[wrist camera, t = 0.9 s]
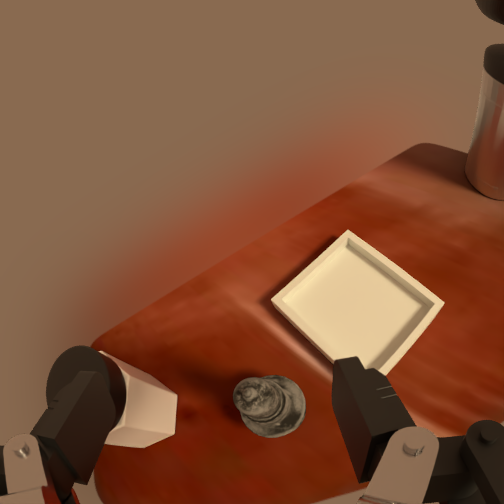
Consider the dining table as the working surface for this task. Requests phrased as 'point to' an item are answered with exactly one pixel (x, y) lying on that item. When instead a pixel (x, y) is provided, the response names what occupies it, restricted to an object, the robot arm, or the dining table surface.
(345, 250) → the tray
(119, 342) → the dining table surface
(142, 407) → the jar
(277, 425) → the salt shaker
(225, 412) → the dining table surface
